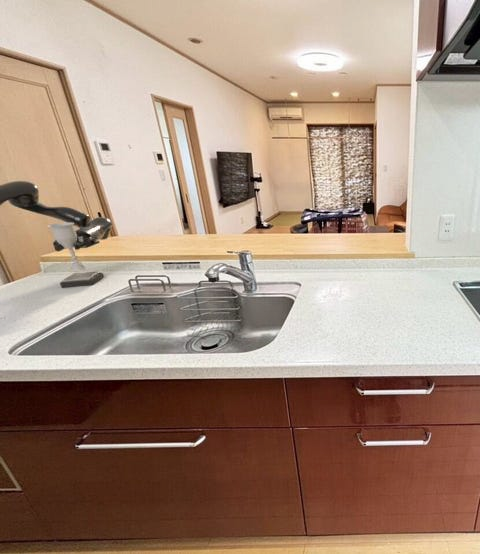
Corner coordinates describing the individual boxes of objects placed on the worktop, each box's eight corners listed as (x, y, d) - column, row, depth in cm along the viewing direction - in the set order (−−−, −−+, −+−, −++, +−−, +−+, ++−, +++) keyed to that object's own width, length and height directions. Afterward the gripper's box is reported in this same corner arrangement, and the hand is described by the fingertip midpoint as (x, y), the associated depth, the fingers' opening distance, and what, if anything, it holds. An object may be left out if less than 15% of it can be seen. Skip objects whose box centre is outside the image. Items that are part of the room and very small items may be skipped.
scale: (61, 288, 115) (58, 281, 114) (75, 279, 123) (73, 272, 122) (92, 285, 118) (89, 278, 117) (104, 277, 126) (101, 270, 125)
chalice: (90, 264, 123) (73, 221, 116) (91, 268, 119) (74, 224, 112) (66, 268, 118) (47, 224, 111) (66, 273, 114) (47, 227, 107)
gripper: (61, 229, 123) (37, 240, 109) (103, 227, 128) (86, 236, 114) (68, 247, 126) (45, 259, 111) (109, 243, 131) (93, 255, 117)
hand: (66, 248), depth 113 cm, fingers closed on chalice, 5 cm apart
